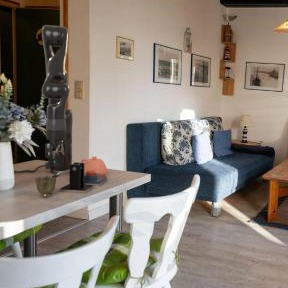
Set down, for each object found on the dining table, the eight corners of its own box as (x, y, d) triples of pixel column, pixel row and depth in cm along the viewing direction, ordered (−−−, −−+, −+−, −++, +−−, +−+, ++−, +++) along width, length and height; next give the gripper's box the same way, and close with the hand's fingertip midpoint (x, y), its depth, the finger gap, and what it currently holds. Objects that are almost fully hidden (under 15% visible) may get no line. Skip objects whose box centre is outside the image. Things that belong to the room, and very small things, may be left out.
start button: (84, 175, 177) (84, 172, 177) (88, 174, 181) (88, 170, 181) (93, 176, 177) (93, 172, 177) (96, 174, 181) (96, 171, 181)
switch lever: (53, 180, 163) (50, 175, 163) (58, 177, 168) (56, 172, 168) (78, 170, 163) (76, 165, 163) (83, 167, 168) (81, 162, 168)
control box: (73, 184, 174) (73, 176, 174) (82, 179, 184) (82, 171, 184) (99, 185, 175) (99, 177, 174) (106, 180, 185) (106, 173, 184)
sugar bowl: (97, 180, 185) (97, 159, 184) (72, 177, 188) (72, 157, 186) (111, 175, 197) (111, 156, 196) (87, 172, 200) (87, 153, 198)
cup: (60, 195, 156) (60, 176, 155) (47, 200, 149) (47, 180, 148) (45, 193, 158) (45, 174, 157) (31, 197, 151) (31, 178, 150)
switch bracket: (59, 191, 162) (59, 164, 160) (68, 186, 171) (69, 161, 169) (85, 192, 162) (85, 166, 161) (93, 187, 171) (93, 162, 170)
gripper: (55, 126, 170) (55, 161, 172) (38, 129, 155) (38, 167, 158) (71, 127, 170) (71, 162, 172) (56, 130, 156) (57, 168, 158)
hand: (56, 165), depth 165 cm, fingers open, 8 cm apart
